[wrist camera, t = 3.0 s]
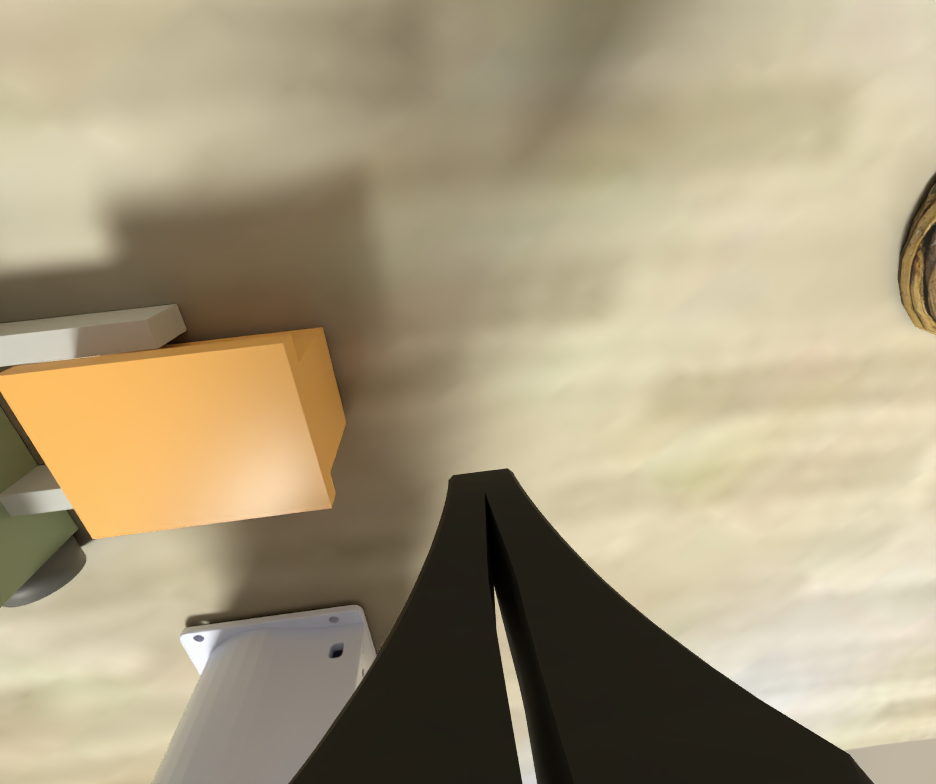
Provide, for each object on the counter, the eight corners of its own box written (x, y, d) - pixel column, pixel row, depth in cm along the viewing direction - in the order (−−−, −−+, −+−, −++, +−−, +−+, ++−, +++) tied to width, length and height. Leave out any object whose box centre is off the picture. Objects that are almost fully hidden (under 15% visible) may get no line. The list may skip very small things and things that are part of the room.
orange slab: (316, 303, 16) (283, 343, 13) (350, 441, 19) (331, 508, 15) (95, 328, 16) (-9, 377, 12) (161, 464, 19) (92, 538, 15)
